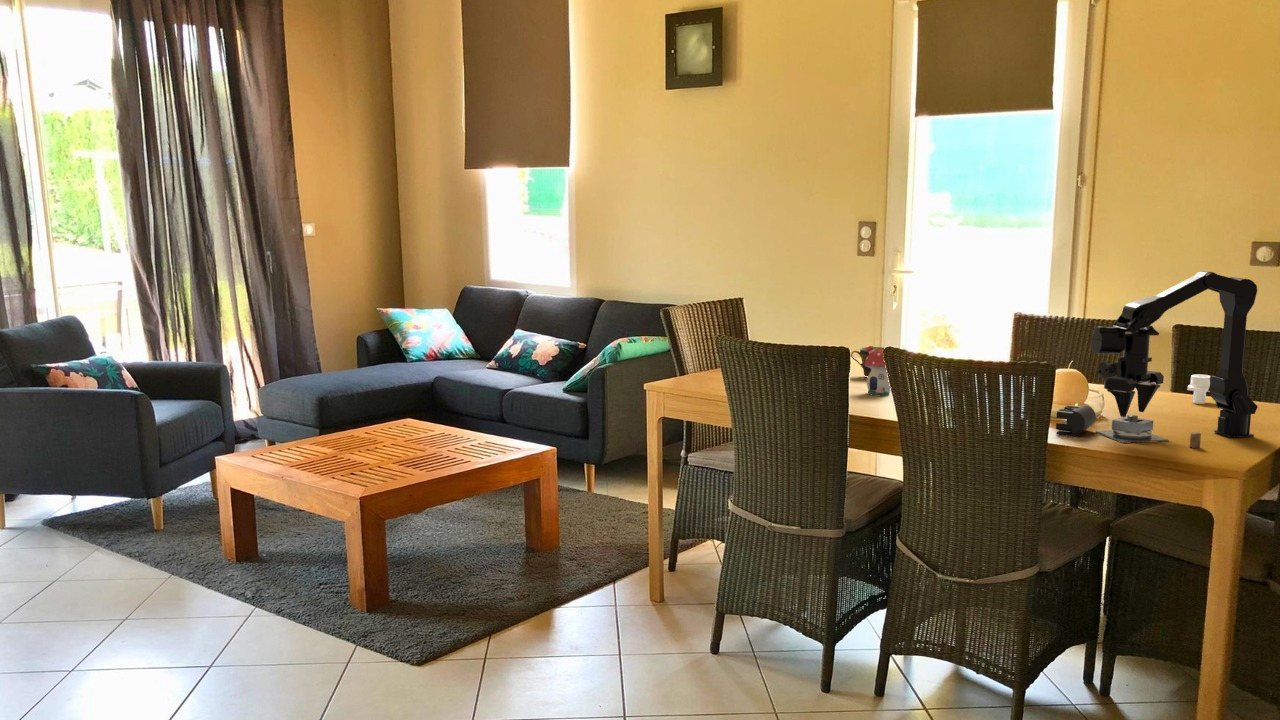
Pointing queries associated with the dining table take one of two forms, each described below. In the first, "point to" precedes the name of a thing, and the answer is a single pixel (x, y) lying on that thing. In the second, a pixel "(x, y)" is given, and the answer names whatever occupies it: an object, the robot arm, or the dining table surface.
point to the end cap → (1075, 420)
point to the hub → (1131, 434)
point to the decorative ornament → (877, 373)
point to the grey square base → (1132, 425)
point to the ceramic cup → (864, 355)
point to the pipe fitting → (1199, 387)
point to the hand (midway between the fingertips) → (1132, 414)
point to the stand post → (1195, 440)
